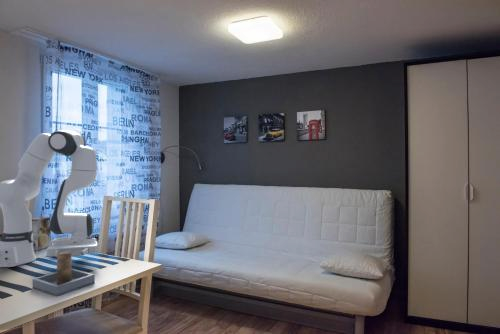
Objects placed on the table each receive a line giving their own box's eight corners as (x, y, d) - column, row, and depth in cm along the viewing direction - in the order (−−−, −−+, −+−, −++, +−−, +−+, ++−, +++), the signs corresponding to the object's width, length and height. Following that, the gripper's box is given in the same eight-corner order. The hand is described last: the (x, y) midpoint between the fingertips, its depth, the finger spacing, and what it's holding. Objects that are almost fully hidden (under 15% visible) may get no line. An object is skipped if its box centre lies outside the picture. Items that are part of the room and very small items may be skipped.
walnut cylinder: (55, 286, 132) (55, 255, 132) (58, 282, 137) (58, 252, 136) (70, 285, 134) (70, 254, 133) (72, 281, 138) (72, 251, 138)
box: (56, 296, 125) (56, 286, 125) (32, 288, 132) (32, 278, 132) (94, 283, 138) (94, 274, 138) (70, 276, 146) (70, 267, 146)
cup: (44, 255, 174) (44, 239, 174) (55, 251, 182) (55, 236, 182) (64, 256, 173) (64, 240, 173) (74, 252, 181) (74, 237, 181)
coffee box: (41, 245, 194) (41, 216, 194) (51, 246, 193) (50, 217, 192) (27, 249, 185) (27, 219, 185) (37, 250, 184) (37, 220, 183)
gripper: (50, 240, 156) (41, 248, 143) (99, 237, 162) (95, 245, 149) (50, 254, 156) (42, 263, 143) (99, 251, 163) (95, 259, 149)
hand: (69, 254), depth 146 cm, fingers open, 8 cm apart
